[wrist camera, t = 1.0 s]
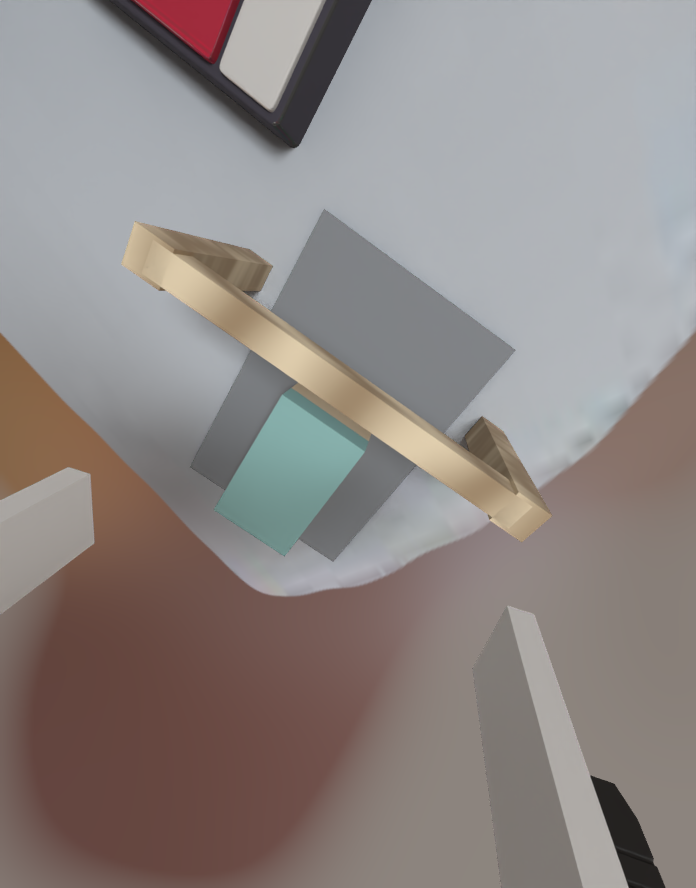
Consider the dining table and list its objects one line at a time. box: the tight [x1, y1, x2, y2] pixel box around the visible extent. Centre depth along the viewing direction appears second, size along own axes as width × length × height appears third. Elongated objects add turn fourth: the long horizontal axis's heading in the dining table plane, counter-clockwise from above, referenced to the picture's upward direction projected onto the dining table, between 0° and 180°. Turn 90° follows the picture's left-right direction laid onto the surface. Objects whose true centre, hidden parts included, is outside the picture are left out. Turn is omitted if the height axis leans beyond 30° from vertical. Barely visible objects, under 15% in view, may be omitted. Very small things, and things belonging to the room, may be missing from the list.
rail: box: [121, 221, 552, 542], centre depth 23 cm, size 23×2×12 cm, turn 57°
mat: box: [190, 209, 515, 561], centre depth 30 cm, size 16×24×1 cm, turn 146°
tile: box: [214, 383, 372, 556], centre depth 30 cm, size 7×12×4 cm, turn 146°
